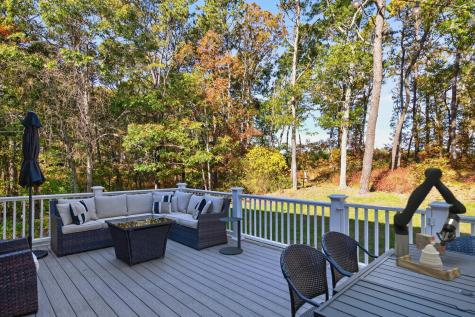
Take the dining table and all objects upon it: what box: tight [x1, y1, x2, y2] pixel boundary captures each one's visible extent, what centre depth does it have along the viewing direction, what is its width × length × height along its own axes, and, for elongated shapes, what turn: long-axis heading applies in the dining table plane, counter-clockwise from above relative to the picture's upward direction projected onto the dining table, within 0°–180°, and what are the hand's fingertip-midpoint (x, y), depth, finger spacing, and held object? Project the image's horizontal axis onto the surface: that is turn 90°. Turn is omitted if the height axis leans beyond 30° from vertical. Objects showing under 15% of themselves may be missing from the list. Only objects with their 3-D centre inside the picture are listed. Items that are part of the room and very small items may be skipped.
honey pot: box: [418, 242, 444, 271], centre depth 183 cm, size 13×13×18 cm
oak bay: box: [395, 254, 461, 282], centre depth 181 cm, size 16×31×5 cm, turn 29°
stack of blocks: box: [415, 232, 447, 255], centre depth 224 cm, size 21×6×12 cm, turn 12°
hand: (442, 245), depth 192 cm, fingers closed
